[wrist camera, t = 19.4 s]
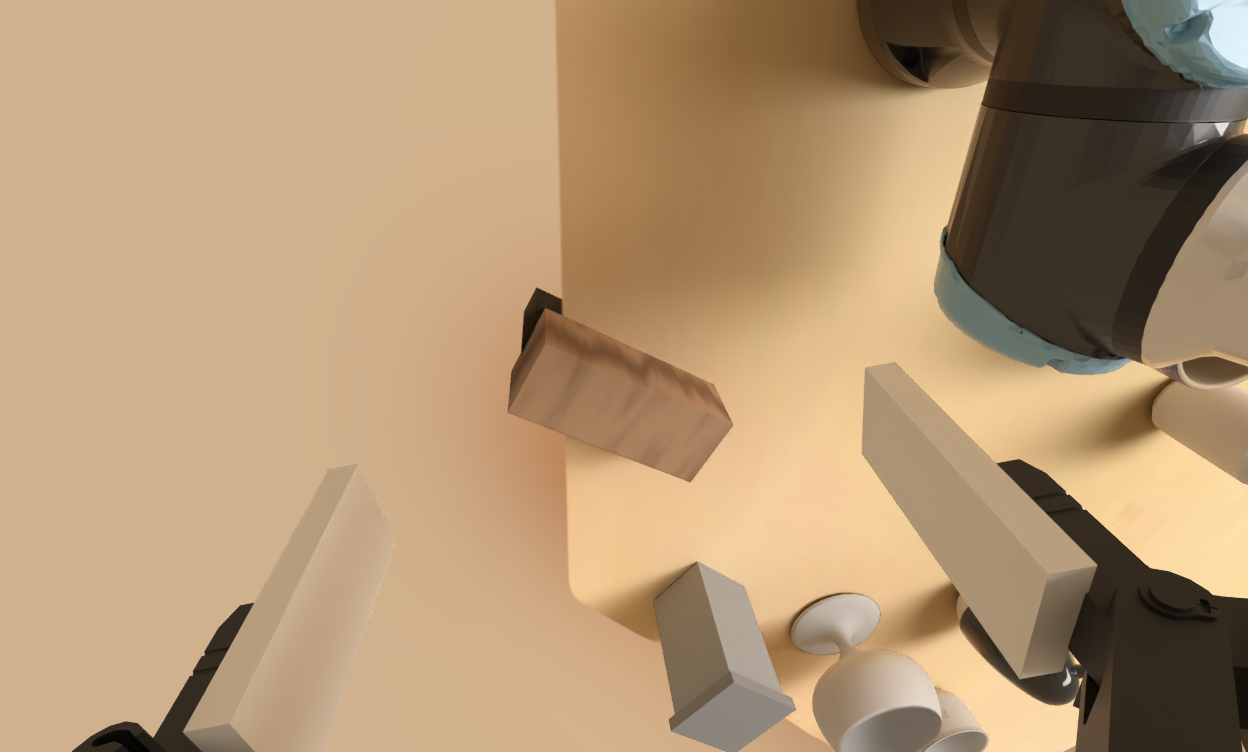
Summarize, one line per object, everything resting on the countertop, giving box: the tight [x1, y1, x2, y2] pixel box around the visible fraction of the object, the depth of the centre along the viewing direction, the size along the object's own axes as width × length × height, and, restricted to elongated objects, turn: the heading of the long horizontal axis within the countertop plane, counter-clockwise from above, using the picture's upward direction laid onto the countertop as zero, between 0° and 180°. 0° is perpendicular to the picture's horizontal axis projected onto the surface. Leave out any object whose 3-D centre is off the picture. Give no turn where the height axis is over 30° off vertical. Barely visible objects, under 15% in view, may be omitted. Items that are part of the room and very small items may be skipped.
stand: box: [653, 562, 796, 752], centre depth 66 cm, size 9×9×16 cm
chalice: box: [791, 594, 942, 752], centre depth 72 cm, size 14×14×15 cm
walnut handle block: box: [508, 288, 733, 482], centre depth 57 cm, size 16×7×18 cm
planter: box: [1149, 356, 1248, 391], centre depth 53 cm, size 11×11×11 cm
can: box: [1152, 381, 1248, 484], centre depth 61 cm, size 8×8×12 cm
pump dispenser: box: [956, 595, 1086, 705], centre depth 72 cm, size 10×10×15 cm
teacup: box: [921, 689, 989, 752], centre depth 88 cm, size 14×11×8 cm
